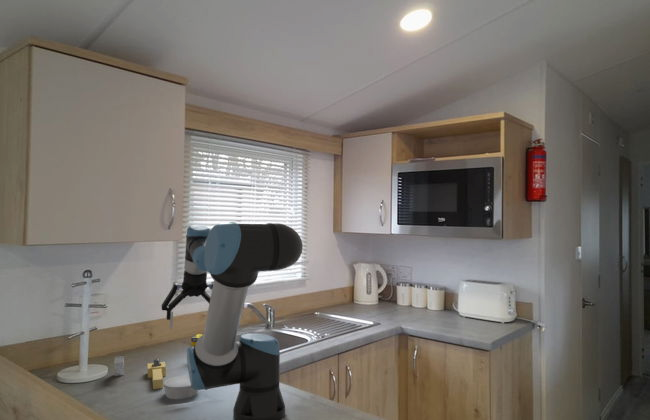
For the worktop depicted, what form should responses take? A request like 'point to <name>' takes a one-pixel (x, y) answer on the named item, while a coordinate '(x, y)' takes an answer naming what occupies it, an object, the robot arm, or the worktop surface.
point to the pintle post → (156, 362)
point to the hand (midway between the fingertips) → (191, 326)
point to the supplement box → (195, 339)
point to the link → (157, 374)
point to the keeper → (119, 366)
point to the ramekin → (179, 387)
